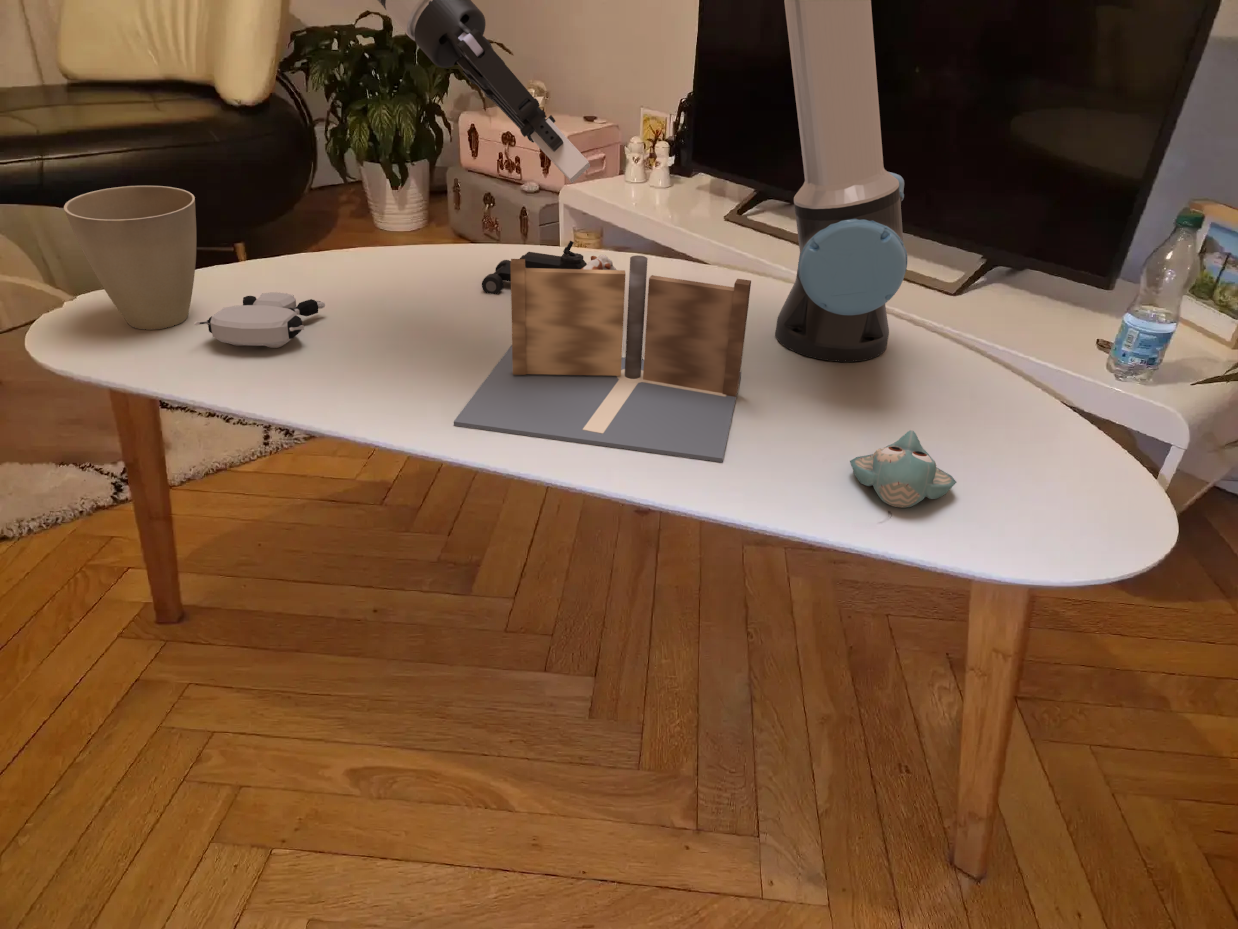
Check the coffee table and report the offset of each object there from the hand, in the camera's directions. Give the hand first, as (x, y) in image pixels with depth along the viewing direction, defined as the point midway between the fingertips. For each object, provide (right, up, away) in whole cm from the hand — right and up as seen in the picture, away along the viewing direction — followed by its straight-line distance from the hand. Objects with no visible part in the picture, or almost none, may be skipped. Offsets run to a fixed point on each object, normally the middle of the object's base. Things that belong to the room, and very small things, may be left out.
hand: (580, 172), depth 100 cm
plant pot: (-58, -12, +25) cm, 64 cm away
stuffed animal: (+33, -34, -3) cm, 48 cm away
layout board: (+3, -24, +10) cm, 26 cm away
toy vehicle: (-8, -5, +41) cm, 42 cm away
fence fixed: (+12, -22, +14) cm, 28 cm away
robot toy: (-42, -15, +23) cm, 50 cm away
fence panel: (-2, -20, +14) cm, 25 cm away
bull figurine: (-1, -11, +31) cm, 33 cm away
